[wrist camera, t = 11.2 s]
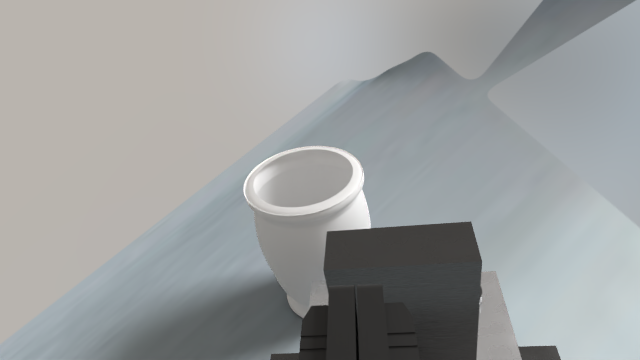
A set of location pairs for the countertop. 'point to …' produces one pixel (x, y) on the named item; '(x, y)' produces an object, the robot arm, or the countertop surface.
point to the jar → (304, 212)
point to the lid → (426, 286)
